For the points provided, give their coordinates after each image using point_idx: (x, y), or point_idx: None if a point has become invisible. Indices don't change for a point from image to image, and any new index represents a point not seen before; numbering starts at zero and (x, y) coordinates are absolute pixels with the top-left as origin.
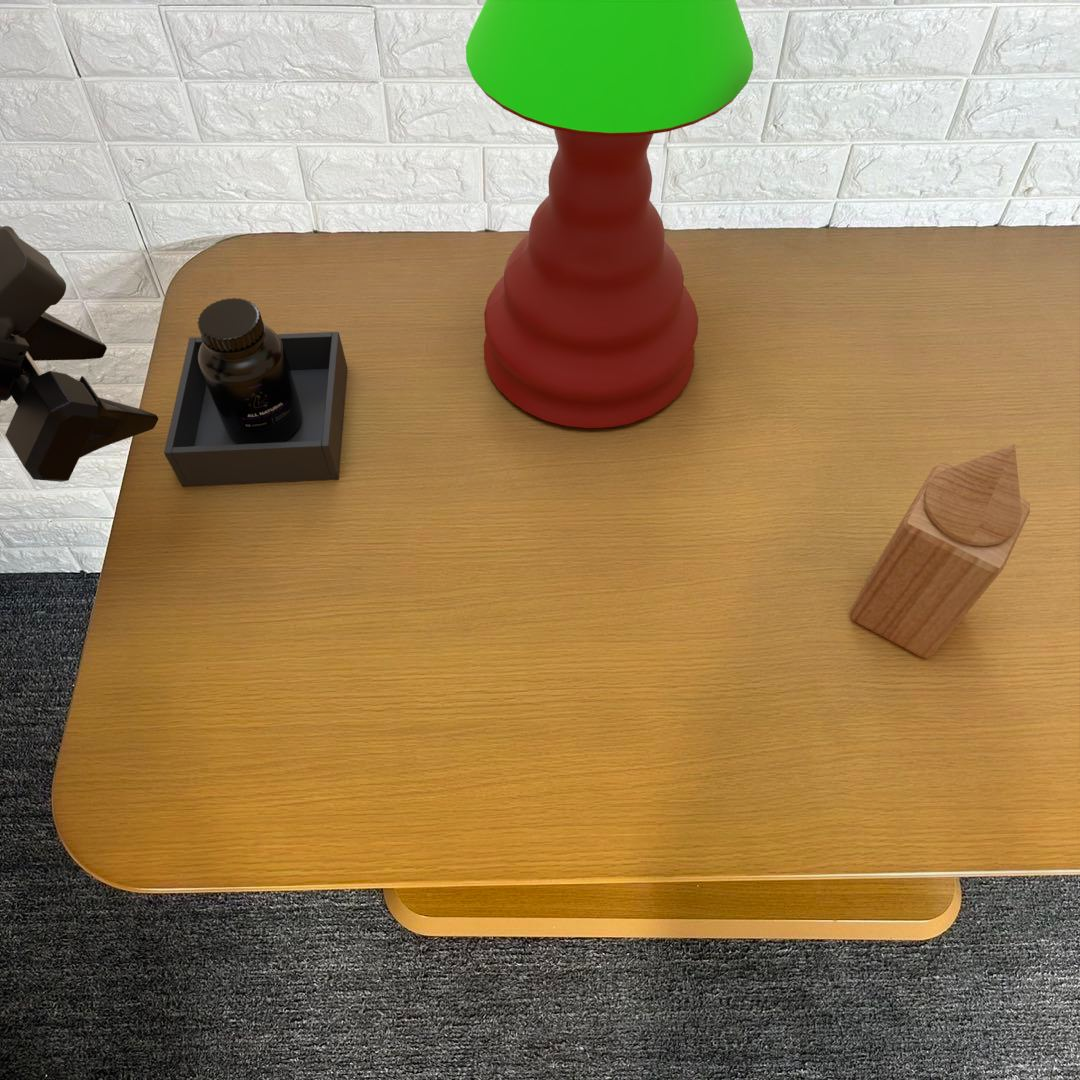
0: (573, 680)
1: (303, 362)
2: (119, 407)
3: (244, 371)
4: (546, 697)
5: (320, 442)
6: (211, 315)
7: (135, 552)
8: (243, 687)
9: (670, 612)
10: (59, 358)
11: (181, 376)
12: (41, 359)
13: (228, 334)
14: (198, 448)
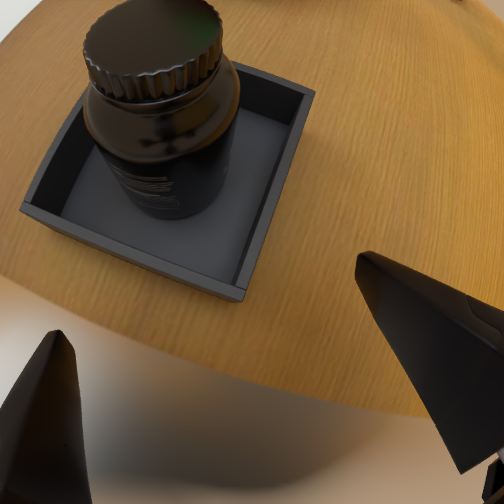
0: (483, 92)
1: None
2: (469, 306)
3: (231, 84)
4: (492, 108)
5: (307, 96)
6: (120, 50)
7: (314, 374)
8: (475, 285)
9: (447, 34)
10: (82, 450)
11: (84, 238)
12: (89, 491)
13: (206, 32)
14: (255, 246)
